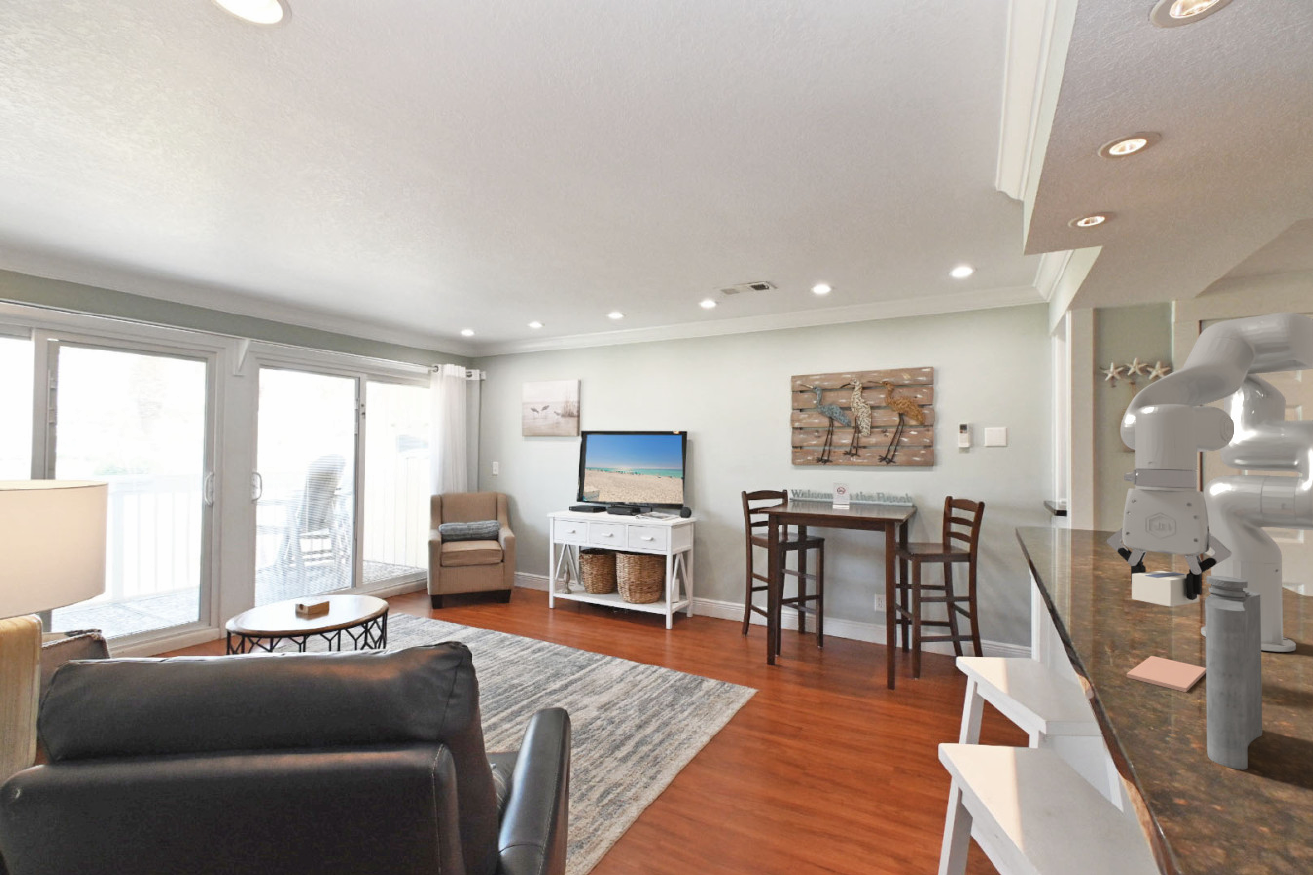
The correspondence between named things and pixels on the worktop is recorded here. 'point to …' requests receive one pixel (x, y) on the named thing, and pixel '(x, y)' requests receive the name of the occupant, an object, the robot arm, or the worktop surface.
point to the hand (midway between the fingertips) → (1165, 593)
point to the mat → (1167, 673)
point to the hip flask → (1232, 670)
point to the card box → (1161, 588)
